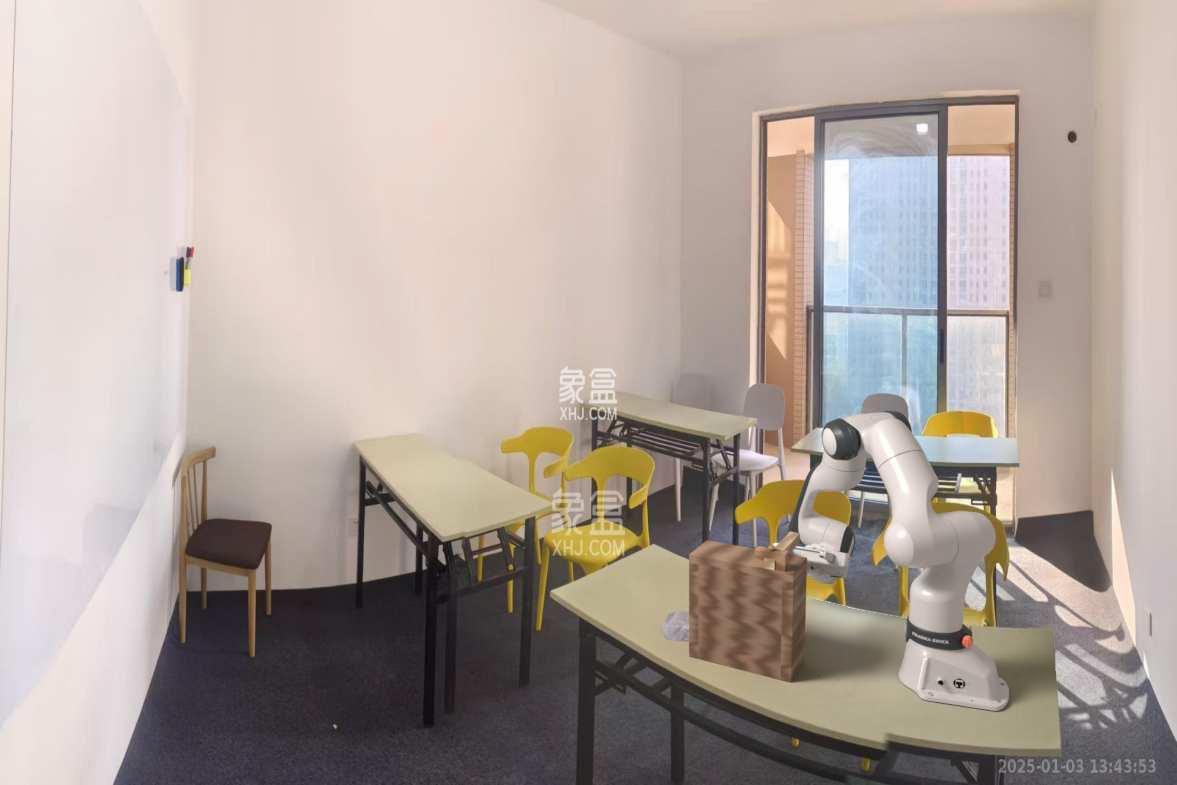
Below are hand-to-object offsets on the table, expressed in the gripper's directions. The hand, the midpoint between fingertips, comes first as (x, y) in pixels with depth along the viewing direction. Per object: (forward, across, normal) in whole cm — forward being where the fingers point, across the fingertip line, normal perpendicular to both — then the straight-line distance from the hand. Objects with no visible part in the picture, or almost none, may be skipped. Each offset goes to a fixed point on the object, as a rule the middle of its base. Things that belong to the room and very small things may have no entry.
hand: (804, 550), depth 201 cm
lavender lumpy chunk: (+4, -26, +27) cm, 38 cm away
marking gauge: (+19, 0, +5) cm, 19 cm away
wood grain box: (+10, -7, +30) cm, 32 cm away
